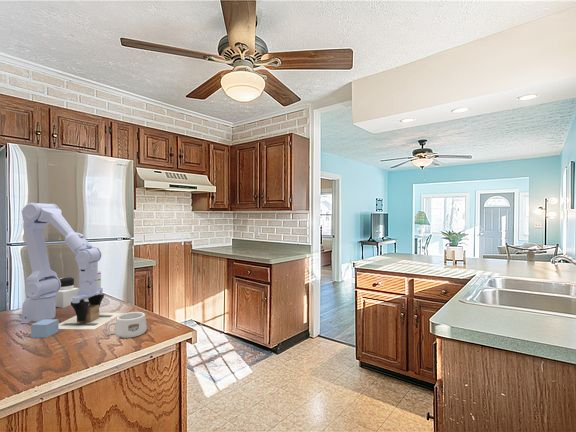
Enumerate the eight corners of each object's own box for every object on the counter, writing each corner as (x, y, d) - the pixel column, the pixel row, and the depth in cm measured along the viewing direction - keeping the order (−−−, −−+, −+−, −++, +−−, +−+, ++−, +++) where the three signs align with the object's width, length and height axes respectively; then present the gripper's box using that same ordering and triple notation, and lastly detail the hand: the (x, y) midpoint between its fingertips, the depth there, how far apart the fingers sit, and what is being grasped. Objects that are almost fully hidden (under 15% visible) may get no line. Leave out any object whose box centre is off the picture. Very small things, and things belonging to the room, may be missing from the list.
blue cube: (30, 340, 98) (31, 324, 98) (43, 334, 103) (43, 319, 103) (46, 340, 98) (46, 324, 98) (58, 334, 103) (58, 319, 103)
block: (76, 322, 112) (76, 308, 112) (85, 317, 117) (85, 304, 117) (90, 322, 112) (90, 308, 112) (99, 318, 117) (99, 304, 117)
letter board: (47, 331, 105) (47, 328, 105) (82, 314, 123) (82, 312, 123) (94, 331, 105) (94, 329, 105) (122, 314, 123) (122, 312, 123)
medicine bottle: (79, 303, 138) (79, 277, 138) (62, 308, 132) (63, 280, 132) (67, 302, 141) (67, 276, 141) (51, 306, 134) (51, 278, 134)
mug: (142, 326, 111) (142, 309, 111) (149, 334, 103) (149, 316, 103) (104, 334, 104) (104, 315, 104) (108, 343, 96) (108, 323, 96)
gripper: (86, 285, 107) (86, 324, 107) (110, 276, 122) (110, 311, 122) (66, 284, 107) (65, 324, 107) (92, 276, 122) (92, 311, 122)
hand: (88, 317), depth 114 cm, fingers open, 7 cm apart
